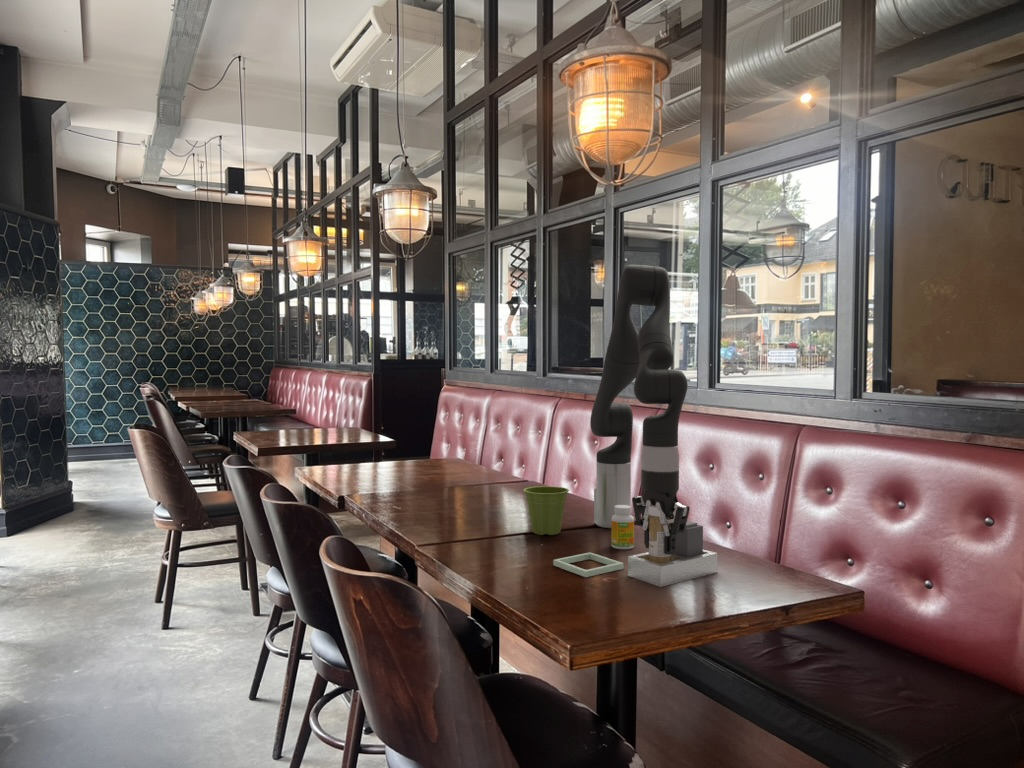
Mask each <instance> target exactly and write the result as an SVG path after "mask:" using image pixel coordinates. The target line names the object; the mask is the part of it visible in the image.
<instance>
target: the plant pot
mask: <svg viewBox="0 0 1024 768" xmlns="http://www.w3.org/2000/svg"><path fill="white" fill-rule="evenodd" d="M523 492H524V493H525V497H526V500H527V504H528V512H529V517H530V519H529V520H530V523H531V524H530V525H531V531H532V533H534V534H535V535H539V536H544V535H548V536H554V535H558V534H560V533H561V530H562V522H563V517H564V516H563V515H564V508H565V504H566V501H567V496H568V495H567V494H568V493H569V492H570V489H569V488H567V487H561V486H550V485H548V486H547V485H546V486H545V485H543V486H539V485H538V486H530V487H526V488H524V489H523Z"/></svg>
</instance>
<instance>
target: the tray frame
mask: <svg viewBox="0 0 1024 768" xmlns="http://www.w3.org/2000/svg"><path fill="white" fill-rule="evenodd" d="M587 560H592V561H595V562H598V563H601V564H604V565H603V566H602V565H601V566H598V567H593V568H588V569H584V568H582V567H578V566H577V565H574V564H572V563H578V562H582V561H587ZM552 563H553V566H554V567H557V568H559V569H562V570H565V571H567V572H570V573H573V574H576V575H579V576H580V577H583V578H589V577H594V576H598V575H601V574H607V573H611V572H616V571H619V570H624V562H621V561H619V560H615V559H611V558H610V557H609V558H608V557H606V556H603V555H600V554H596V553H593V552H585V553H581V554H575V555H571V556H565V557H561V558H556V559H553V562H552Z"/></svg>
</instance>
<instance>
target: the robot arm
mask: <svg viewBox="0 0 1024 768" xmlns="http://www.w3.org/2000/svg"><path fill="white" fill-rule="evenodd" d="M670 281H671V279H670V275H669V272H668V270H667V269H666V268H664V267H660V266H654V265H642V264H627V265H625V267H624V268H623V270H622V273H621V276H620V279H619V284H618V285H619V286H618V293H617V299H616V307H615V310H614V311H615V313H614V319H613V324H612V328H611V332H610V336H609V340H608V344H607V348H606V352H605V353H606V354H605V358H604V361H603V362H604V364H603V369H602V372H601V373H602V374H601V379H600V384H599V387H598V391H597V393H596V396H595V399H594V401H593V402H594V403H593V406H592V409H591V414H590V421H589V422H590V430H591V432H592V434H593V435H594V436H597V437H601V438H612V437H613V438H616V439H615V440H614V442H613V443H612V444H610V445H609V446H607V447H603V449H599V450H597V452H596V487H595V488H594V489H593V524H596V526H598V527H601V528H606V529H611V520H612V516H613V515H614V514H615V512H614V507H615V506H616V505H628V506H631V505H632V506H631V507H632V508H633V513H634V519H635V523H636V525H637V526H640V527H642V529H643V532H644V533H643V534H644V535H643V536H644V541H643V543H644V546H645V549H647V550H649V513H648V509H649V506H652V505H654V506H656V508H658V510H659V511H660V517H659V518H660V523H661V524H662V525H663V528H664V532H665V535H666V536H664V553H665V554H668V555H669V554H673V553H674V551H675V549H676V535H677V534H681V533H684V531H685V527H686V523H687V521H688V518H689V513H690V509H691V508H690V506H689V505H687V504H686V505H683V504H682V503H680V502H679V500H678V496H677V494H678V491H679V490H680V453H679V446H678V445H679V423H680V416H681V411H682V408H683V406H684V402H685V398H686V395H687V391H688V379H687V377H686V375H685V374H684V372H683V371H682V370H680V369H671V367H672V366H673V363H674V353H673V346H672V339H671V331H670V321H671V320H670V317H671V316H670V315H671V314H670V313H671V282H670ZM633 305H634V306H645V307H647V306H648V307H655V308H654V310H653V311H652V313H651V315H649V317H648V318H647V319H646V320H645V322H644V323H643V324H642V325H641V328H640V329H639V331H638V329H637V327H636V324H635V323H634V320H633V318H632V315H631V314H632V313H631V307H632V306H633ZM633 381H634V384H633V393H634V396H635V398H636V400H638V401H639V403H641V404H645V405H668V406H667V408H666V409H665V410H664V412H662V413H660V414H659V413H658V414H655V415H649V416H647V417H645V418H644V420H643V422H642V448H641V458H640V459H641V460H640V462H641V467H640V468H641V469H640V470H641V471H640V473H641V475H640V480H641V481H640V482H641V483H640V485H641V486H640V487H641V490H642V491H643V494H642V495H638V496H633V497H632V492H631V491H632V489H631V488H632V487H631V486H632V485H631V484H632V481H631V480H632V478H631V477H632V474H631V473H632V470H631V469H632V461H631V459H632V458H631V457H632V449H633V448H632V447H633V446H632V445H633V443H632V442H633V427H634V416H633V415H634V414H633V409H632V407H631V405H630V404H629V403H627V402H614V400H615V399H616V398H617V396H618V395H619V394H620V393H622V391H624V390H625V389H626V388H627V387H628V386H629V385H630V384H631V383H632V382H633ZM631 497H632V498H631ZM631 501H632V502H631ZM631 503H632V504H631ZM630 515H632V512H631V513H630ZM670 516H671V517H670ZM667 517H670V520H667V519H666V518H667ZM669 524H670V527H669ZM670 528H671V529H670Z"/></svg>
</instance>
